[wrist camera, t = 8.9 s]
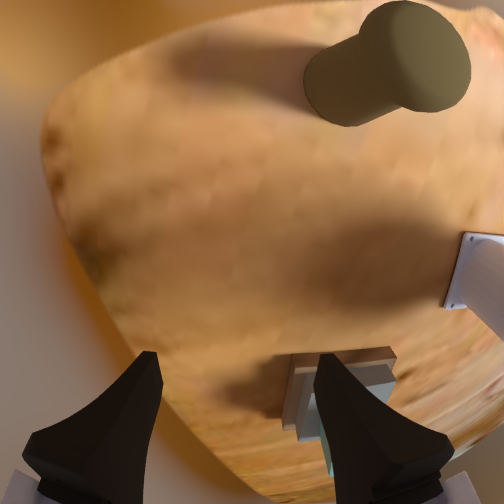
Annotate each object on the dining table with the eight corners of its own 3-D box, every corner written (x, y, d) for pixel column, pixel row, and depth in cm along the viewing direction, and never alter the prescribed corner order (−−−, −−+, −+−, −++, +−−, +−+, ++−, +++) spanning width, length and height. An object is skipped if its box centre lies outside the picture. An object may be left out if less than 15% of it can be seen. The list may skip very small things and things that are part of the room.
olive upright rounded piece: (352, 144, 19) (454, 155, 8) (285, 88, 17) (336, 31, 7) (396, 88, 17) (504, 68, 7) (335, 33, 15) (411, -38, 5)
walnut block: (387, 342, 26) (396, 357, 24) (362, 405, 30) (368, 420, 27) (291, 349, 25) (295, 367, 23) (280, 413, 29) (283, 430, 27)
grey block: (386, 363, 24) (396, 381, 21) (364, 414, 27) (371, 431, 24) (306, 372, 23) (311, 393, 21) (294, 423, 26) (298, 442, 24)
